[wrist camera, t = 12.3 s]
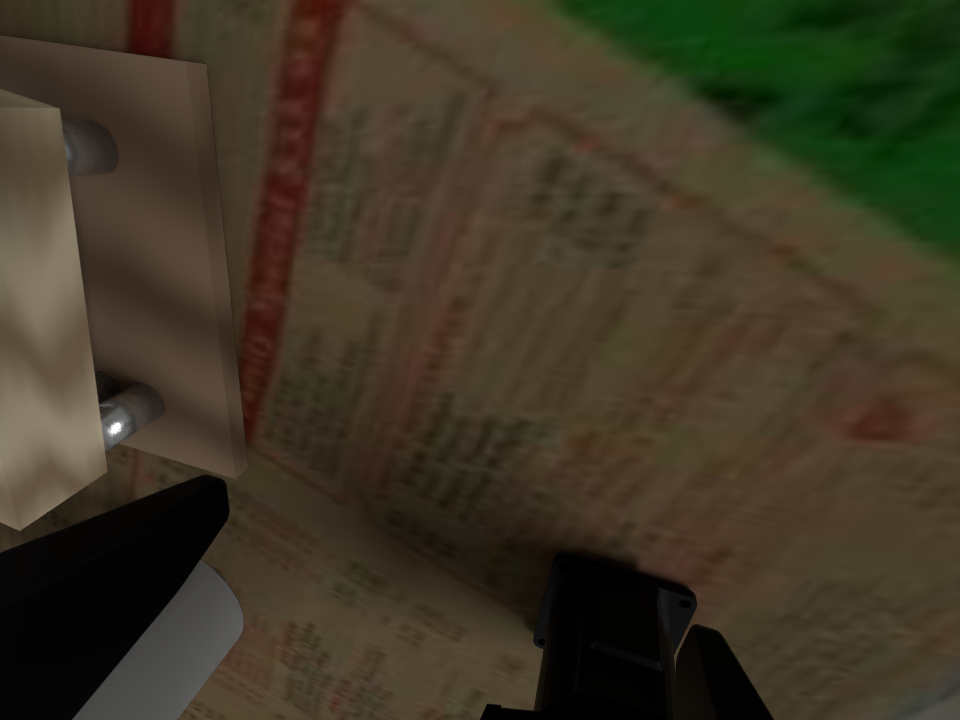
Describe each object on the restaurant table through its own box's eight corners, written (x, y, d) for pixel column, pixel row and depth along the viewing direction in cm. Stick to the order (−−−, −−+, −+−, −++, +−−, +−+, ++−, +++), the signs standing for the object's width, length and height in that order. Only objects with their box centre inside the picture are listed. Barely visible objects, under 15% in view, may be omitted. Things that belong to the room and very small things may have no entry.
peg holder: (248, 467, 28) (192, 518, 24) (66, 413, 30) (-9, 452, 26) (206, 64, 19) (110, 51, 16) (-45, 28, 21) (-179, 10, 18)
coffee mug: (229, 666, 37) (104, 836, 28) (112, 597, 37) (-48, 744, 29) (270, 559, 31) (125, 736, 22) (127, 476, 31) (-72, 618, 22)
